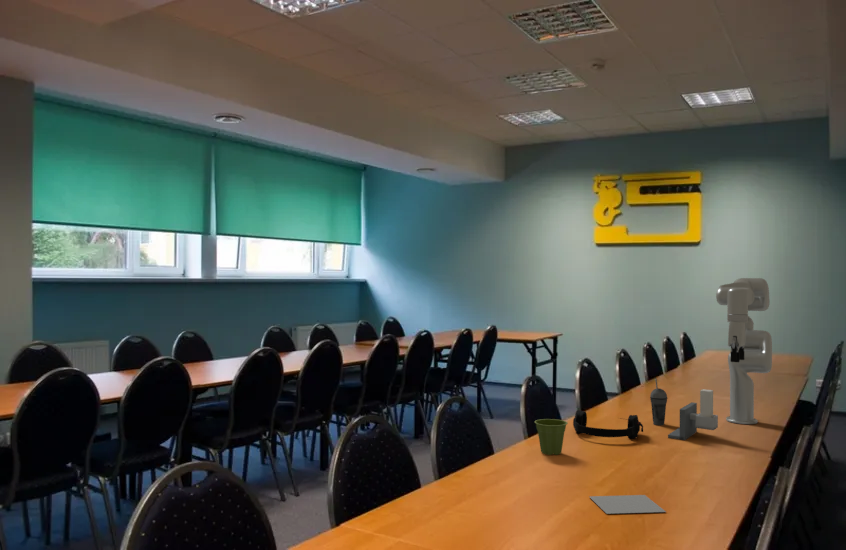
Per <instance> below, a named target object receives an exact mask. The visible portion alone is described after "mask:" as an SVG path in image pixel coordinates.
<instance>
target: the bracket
mask: <svg viewBox="0 0 846 550" xmlns="http://www.w3.org/2000/svg"><path fill="white" fill-rule="evenodd" d="M697 406H698V402H689V403H688V404H686V405H685V406H683V407H681V408H679V427H678V428H677V429H675V430H673V431H671V432H670V433H669V434H667V438H668V439H671V440H673V439H675V440H679V441H686V440H687V439H689V438H690V437H692V436H693V435H695V434H696V433H697V431H698V430H697V429H701V430H707V431H708V430H709V431H715V430H716V429H717V428H718V427H719V424H718V423H719V421H718V420H719V416H718V414H713V418H712V417H703V416H700V412H699V413H698V411H697V410H698V407H697Z"/></svg>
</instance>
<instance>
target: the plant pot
mask: <svg viewBox="0 0 846 550" xmlns="http://www.w3.org/2000/svg"><path fill="white" fill-rule="evenodd" d="M534 424H535V427H536V430H537V434H538V442H539V446H540V453H541V454H543V455H547V456H553V455H555V456H558V455H560V454H562V452H563V444H564V443H563V442H564V438H565V431H566V429H567V425H568V421H566V420H561V419H555V418H552V419H551V418H543V419H537V420H535V421H534Z"/></svg>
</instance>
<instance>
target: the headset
mask: <svg viewBox="0 0 846 550" xmlns="http://www.w3.org/2000/svg"><path fill="white" fill-rule="evenodd" d="M587 414H588V413H587V412H586V411H585V410H579V409H577V410H576V412H575V415H574V417H573V420H572V421H573V422H572V426H573V428H574V431H575V433H576V434H583V435H584V434H585V435H588V436H594V437H599V438H623V437H627V438H628V439H632V440H635V439H637V438H638V436H639V433H640V432H641V433H644V425H643V424H642V421H639V417H638V415H637V414H633V415H632V414H629V416H628V418H625V421H626V420H627V428H623V429H622V428H621V429H620V428H619V429H616V428H615V429H612V428H611V429H610V428H601V427H599V428H598V427H591V426H587V425H588V415H587ZM619 419H621V420H623V417H622V418H619Z"/></svg>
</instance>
